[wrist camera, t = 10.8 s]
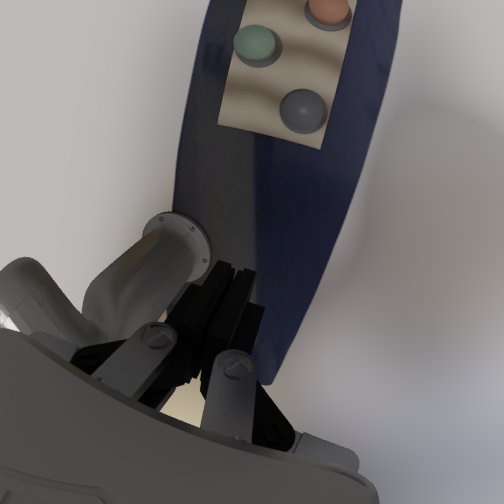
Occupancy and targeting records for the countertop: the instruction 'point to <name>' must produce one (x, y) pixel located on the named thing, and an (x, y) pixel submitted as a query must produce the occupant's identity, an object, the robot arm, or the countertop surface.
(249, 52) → the green button
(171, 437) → the robot arm
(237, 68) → the button panel
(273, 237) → the countertop surface
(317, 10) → the terracotta button
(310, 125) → the charcoal button
